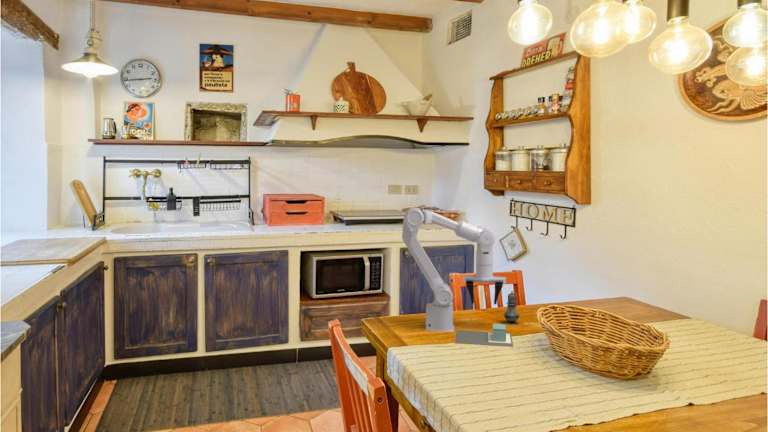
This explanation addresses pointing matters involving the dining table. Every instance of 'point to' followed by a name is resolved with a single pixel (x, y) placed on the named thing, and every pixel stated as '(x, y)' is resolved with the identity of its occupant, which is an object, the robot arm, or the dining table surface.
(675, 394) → the dining table surface
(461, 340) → the mat
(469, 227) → the robot arm
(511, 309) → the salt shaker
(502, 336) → the teal block
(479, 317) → the dining table surface
